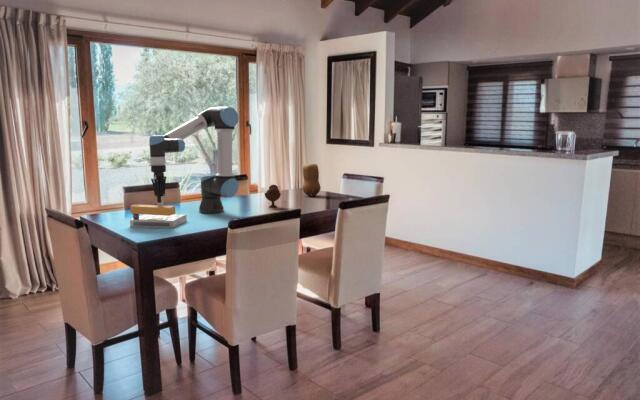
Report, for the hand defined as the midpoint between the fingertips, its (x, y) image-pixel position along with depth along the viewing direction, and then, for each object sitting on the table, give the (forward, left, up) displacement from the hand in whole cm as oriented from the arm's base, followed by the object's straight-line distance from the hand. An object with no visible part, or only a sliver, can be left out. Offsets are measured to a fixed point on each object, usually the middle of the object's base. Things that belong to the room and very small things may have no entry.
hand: (160, 208), depth 261 cm
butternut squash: (-117, +65, -10) cm, 134 cm away
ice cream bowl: (-65, +47, -10) cm, 81 cm away
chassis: (-4, -3, -10) cm, 11 cm away
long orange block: (+3, -3, -2) cm, 5 cm away
